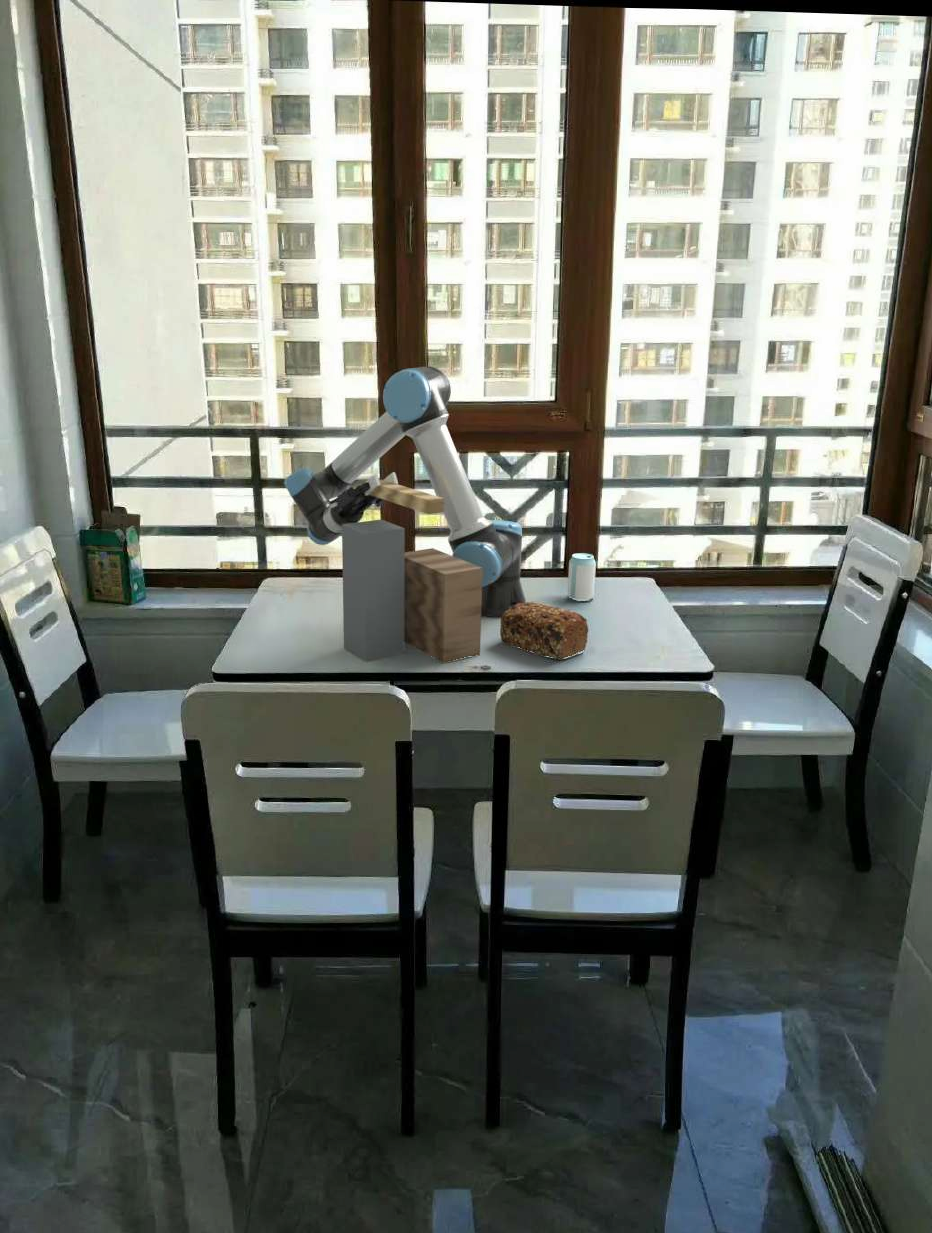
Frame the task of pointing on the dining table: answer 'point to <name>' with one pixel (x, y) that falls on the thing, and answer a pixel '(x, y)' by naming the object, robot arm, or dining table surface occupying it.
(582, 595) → the can
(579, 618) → the bread
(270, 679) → the dining table surface
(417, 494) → the oak bar
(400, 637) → the stand
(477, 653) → the wood grain brick
